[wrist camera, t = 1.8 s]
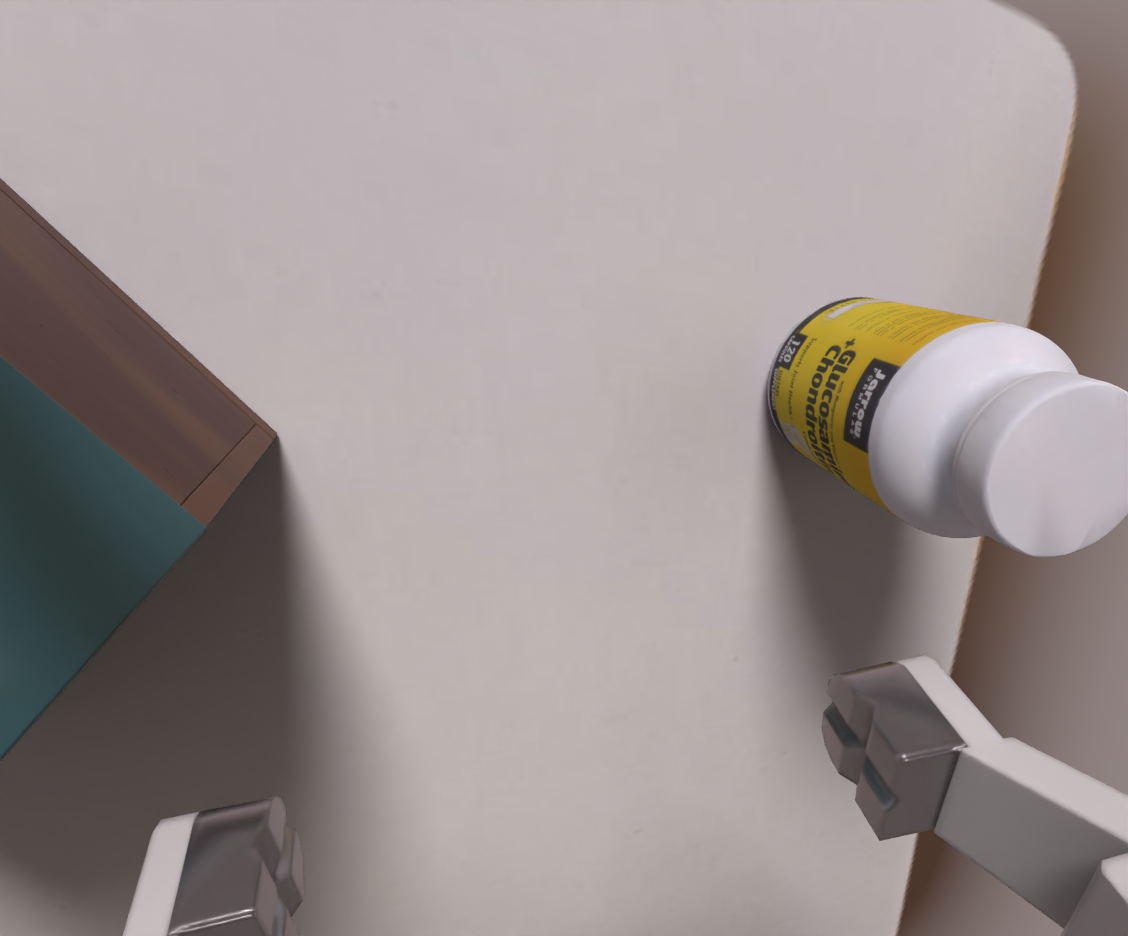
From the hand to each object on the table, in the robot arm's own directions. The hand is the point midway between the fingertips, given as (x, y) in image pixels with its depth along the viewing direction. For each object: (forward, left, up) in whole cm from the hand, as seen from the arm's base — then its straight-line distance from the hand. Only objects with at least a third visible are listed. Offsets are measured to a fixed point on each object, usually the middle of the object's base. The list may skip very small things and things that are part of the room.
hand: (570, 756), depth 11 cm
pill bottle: (-6, +12, -18) cm, 23 cm away
